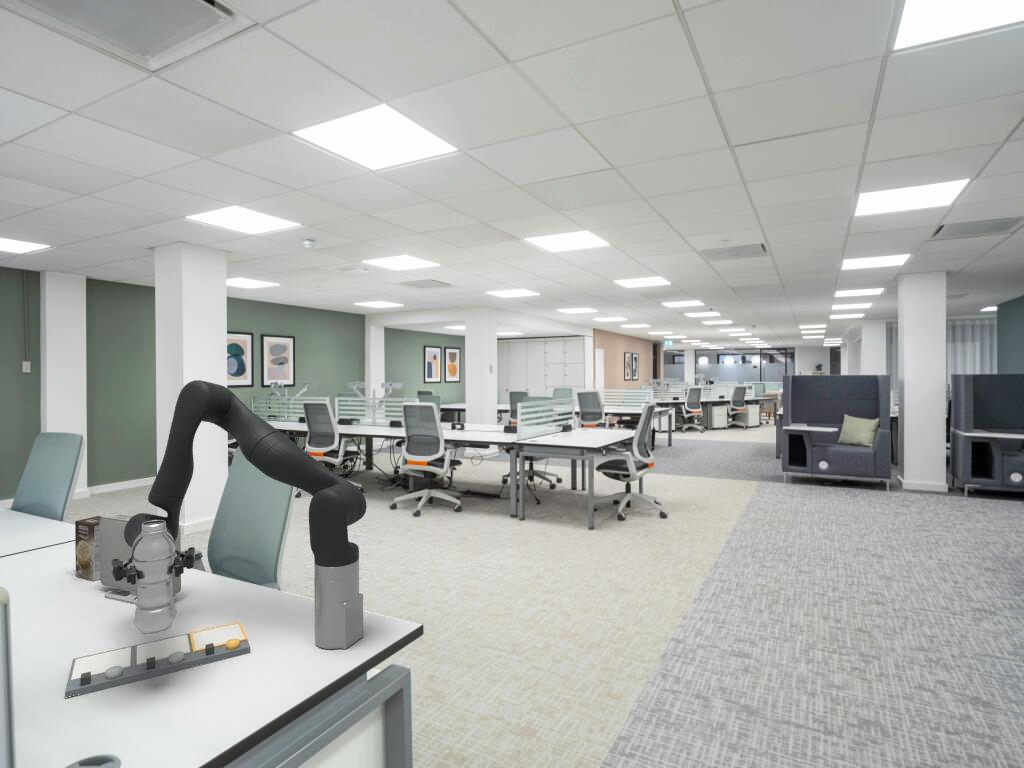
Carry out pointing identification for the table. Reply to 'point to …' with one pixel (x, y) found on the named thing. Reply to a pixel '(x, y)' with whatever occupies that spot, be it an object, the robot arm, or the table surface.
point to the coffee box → (87, 548)
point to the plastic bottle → (154, 579)
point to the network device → (122, 557)
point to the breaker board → (155, 658)
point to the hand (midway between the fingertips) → (156, 575)
